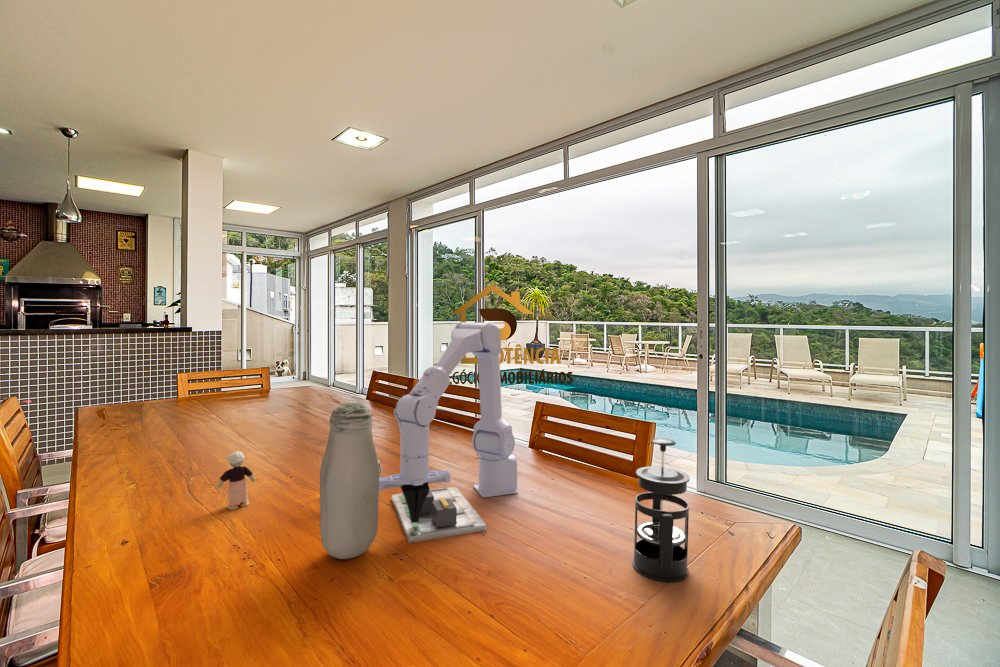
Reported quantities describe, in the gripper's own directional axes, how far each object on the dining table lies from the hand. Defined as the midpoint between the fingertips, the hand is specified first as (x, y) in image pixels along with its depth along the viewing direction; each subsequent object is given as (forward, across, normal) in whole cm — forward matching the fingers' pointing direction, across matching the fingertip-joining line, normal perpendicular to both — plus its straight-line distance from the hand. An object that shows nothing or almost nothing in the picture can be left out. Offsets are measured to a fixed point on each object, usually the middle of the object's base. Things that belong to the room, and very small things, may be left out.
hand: (414, 520), depth 96 cm
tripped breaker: (+1, +6, 0) cm, 6 cm away
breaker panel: (+3, +6, +8) cm, 10 cm away
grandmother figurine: (+3, -36, +26) cm, 45 cm away
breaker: (+1, +3, +7) cm, 8 cm away
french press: (+3, +38, -28) cm, 48 cm away
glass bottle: (+3, -13, -4) cm, 14 cm away
